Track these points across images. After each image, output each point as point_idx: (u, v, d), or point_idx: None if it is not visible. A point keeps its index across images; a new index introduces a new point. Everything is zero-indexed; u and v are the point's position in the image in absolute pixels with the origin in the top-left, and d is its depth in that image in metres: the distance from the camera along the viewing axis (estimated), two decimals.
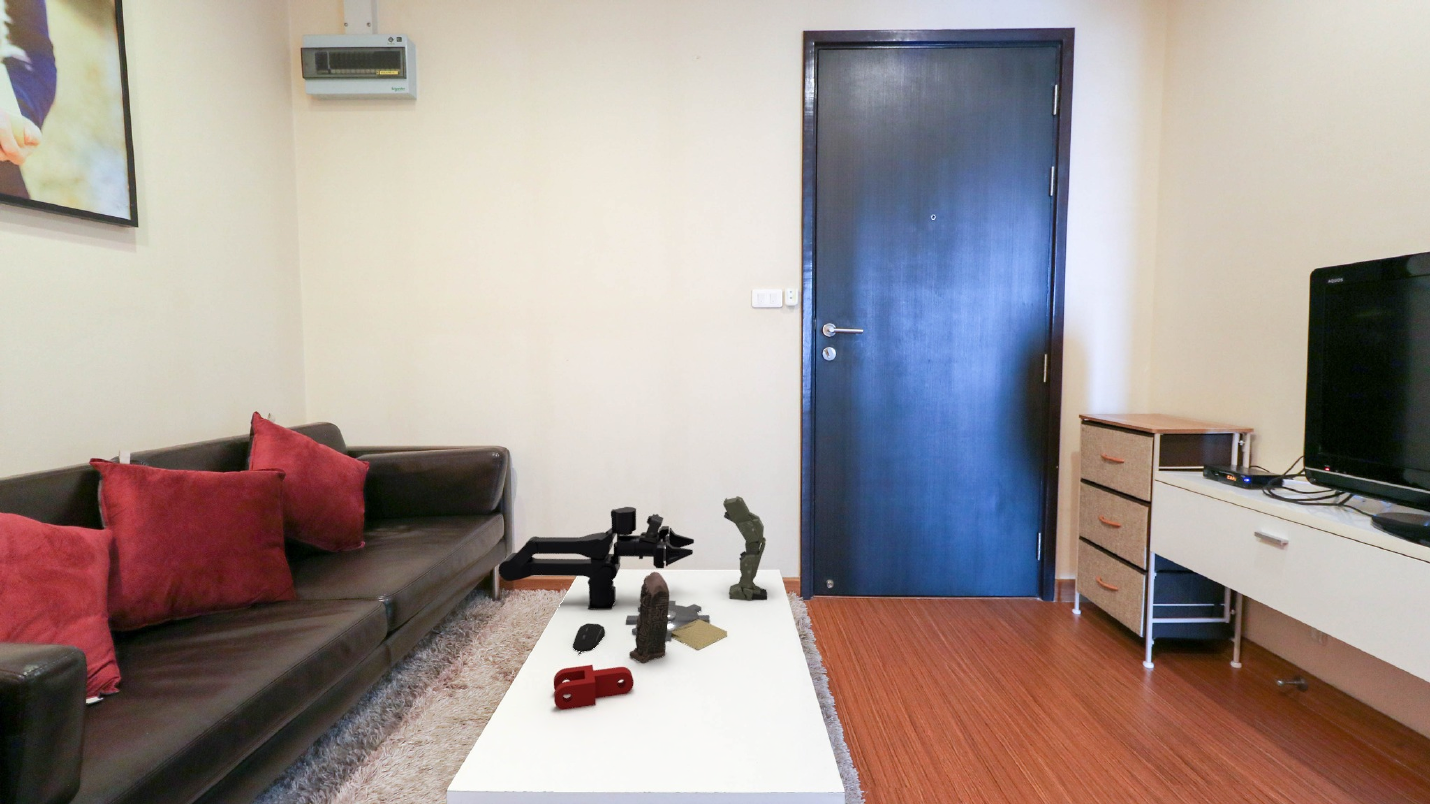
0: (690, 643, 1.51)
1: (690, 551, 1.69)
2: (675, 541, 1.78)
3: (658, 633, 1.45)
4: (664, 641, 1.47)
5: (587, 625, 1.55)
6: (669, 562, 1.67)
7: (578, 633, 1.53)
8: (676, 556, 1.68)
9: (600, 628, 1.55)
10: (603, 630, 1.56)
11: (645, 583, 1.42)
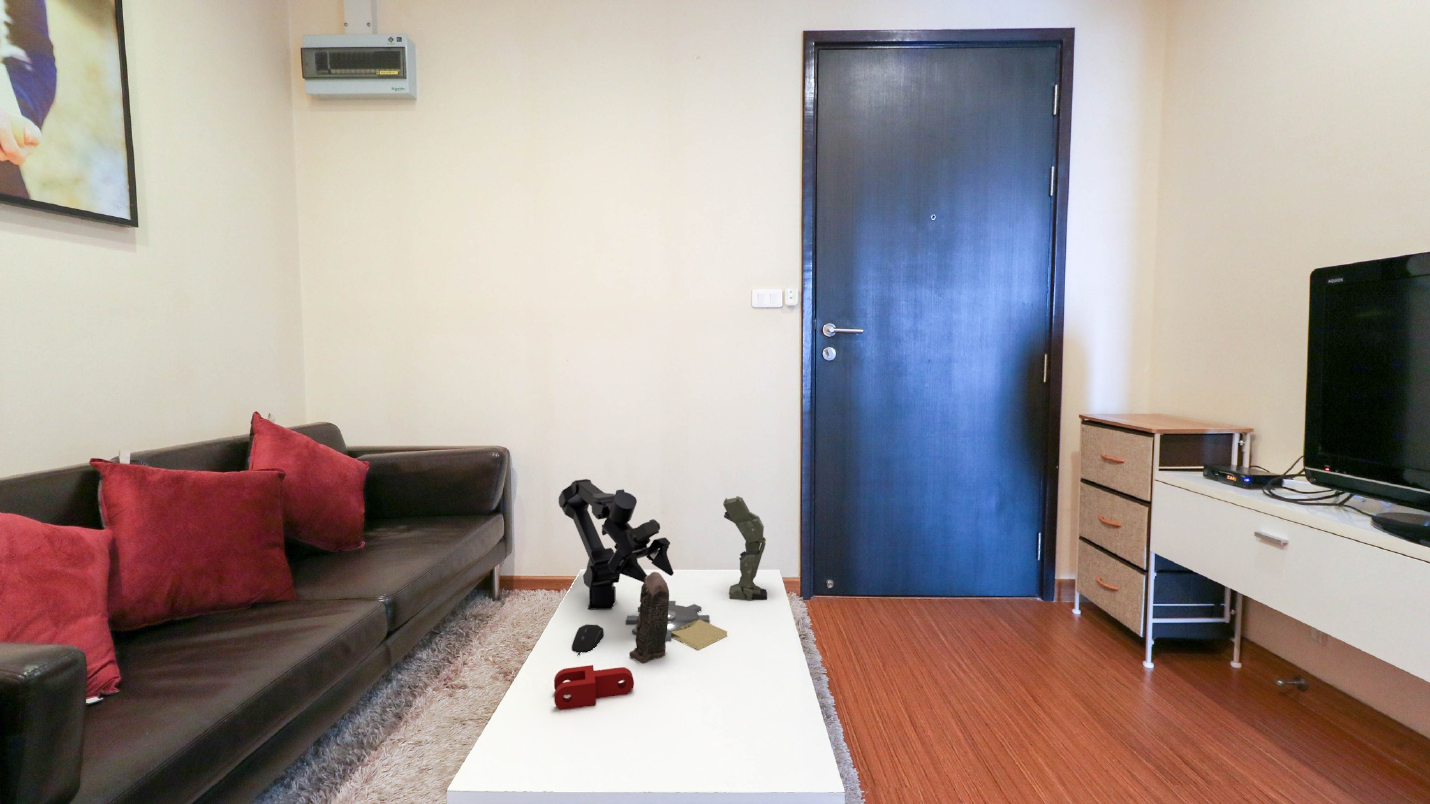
0: (690, 643, 1.51)
1: None
2: (659, 560, 1.62)
3: (658, 633, 1.45)
4: (664, 641, 1.47)
5: (586, 626, 1.54)
6: (624, 572, 1.53)
7: (577, 634, 1.52)
8: (633, 573, 1.53)
9: (599, 629, 1.55)
10: (602, 631, 1.56)
11: (645, 583, 1.42)
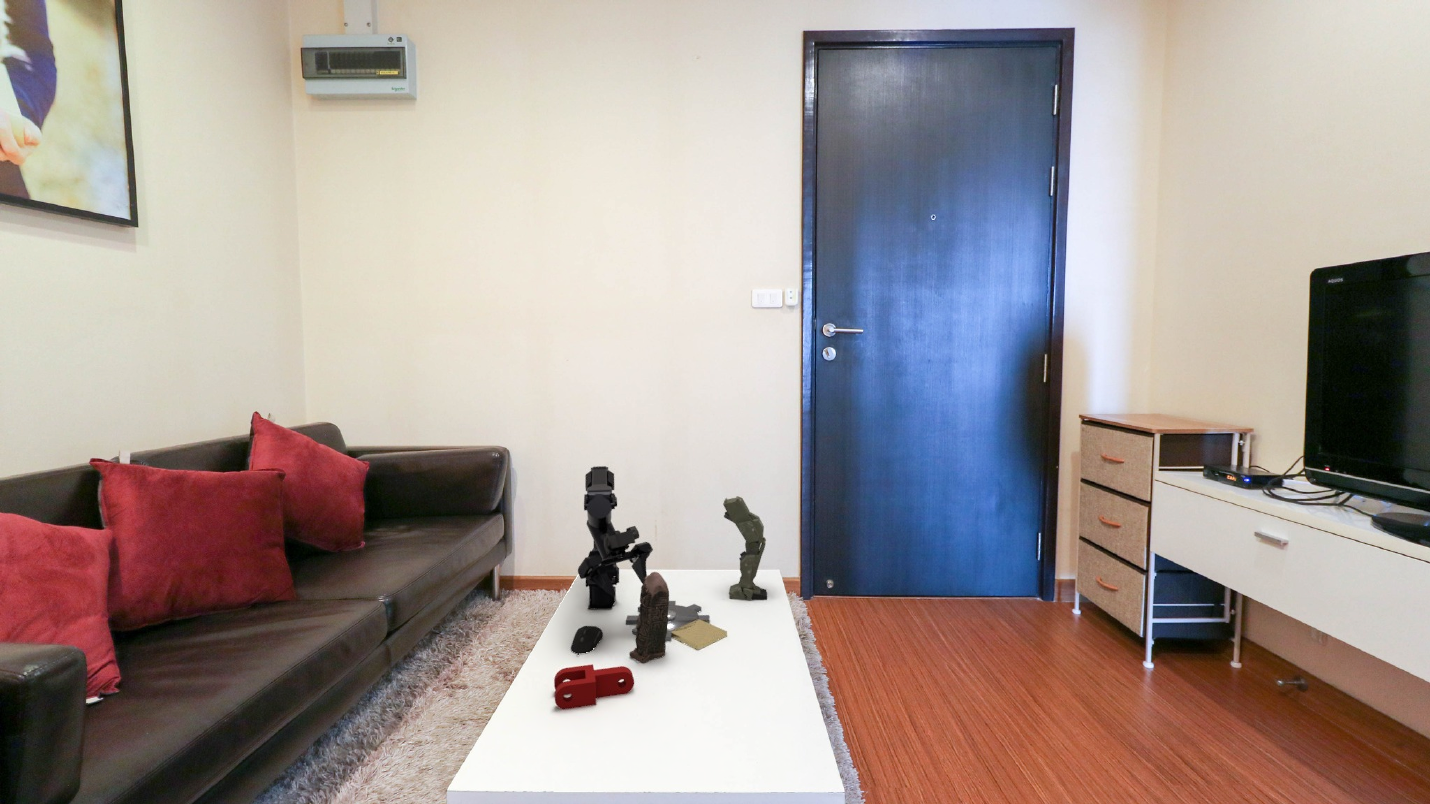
0: (690, 643, 1.51)
1: (612, 593, 1.47)
2: (637, 566, 1.56)
3: (658, 633, 1.45)
4: (664, 641, 1.47)
5: (585, 627, 1.54)
6: (593, 579, 1.50)
7: (576, 635, 1.52)
8: (601, 582, 1.49)
9: (598, 630, 1.54)
10: (601, 632, 1.55)
11: (645, 583, 1.42)
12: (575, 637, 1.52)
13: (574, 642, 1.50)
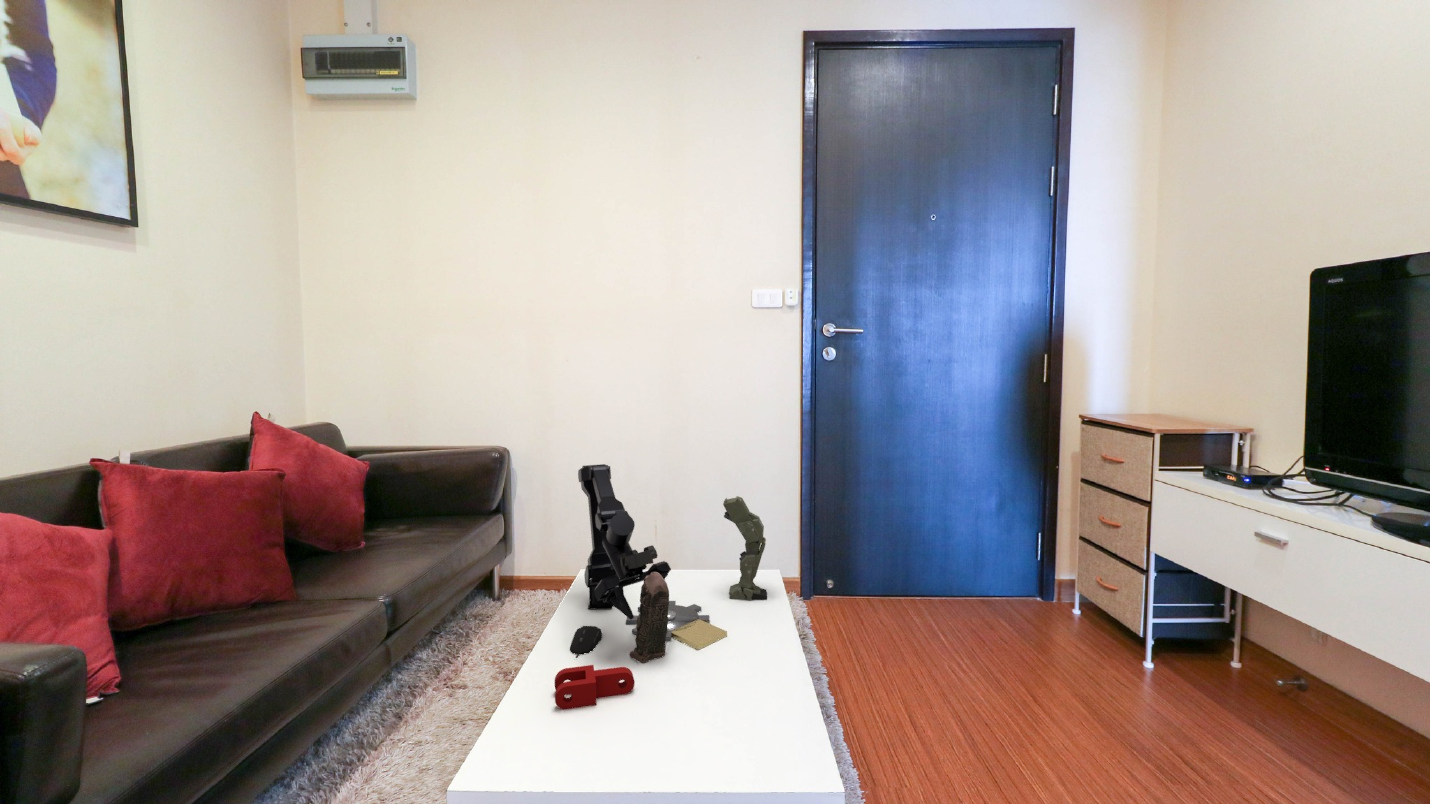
0: (690, 643, 1.51)
1: (630, 615, 1.42)
2: None
3: (658, 633, 1.45)
4: (664, 641, 1.47)
5: (584, 627, 1.53)
6: (609, 601, 1.45)
7: (575, 636, 1.52)
8: (618, 604, 1.44)
9: (597, 630, 1.54)
10: (600, 632, 1.55)
11: (645, 583, 1.42)
12: (574, 637, 1.51)
13: (573, 642, 1.50)
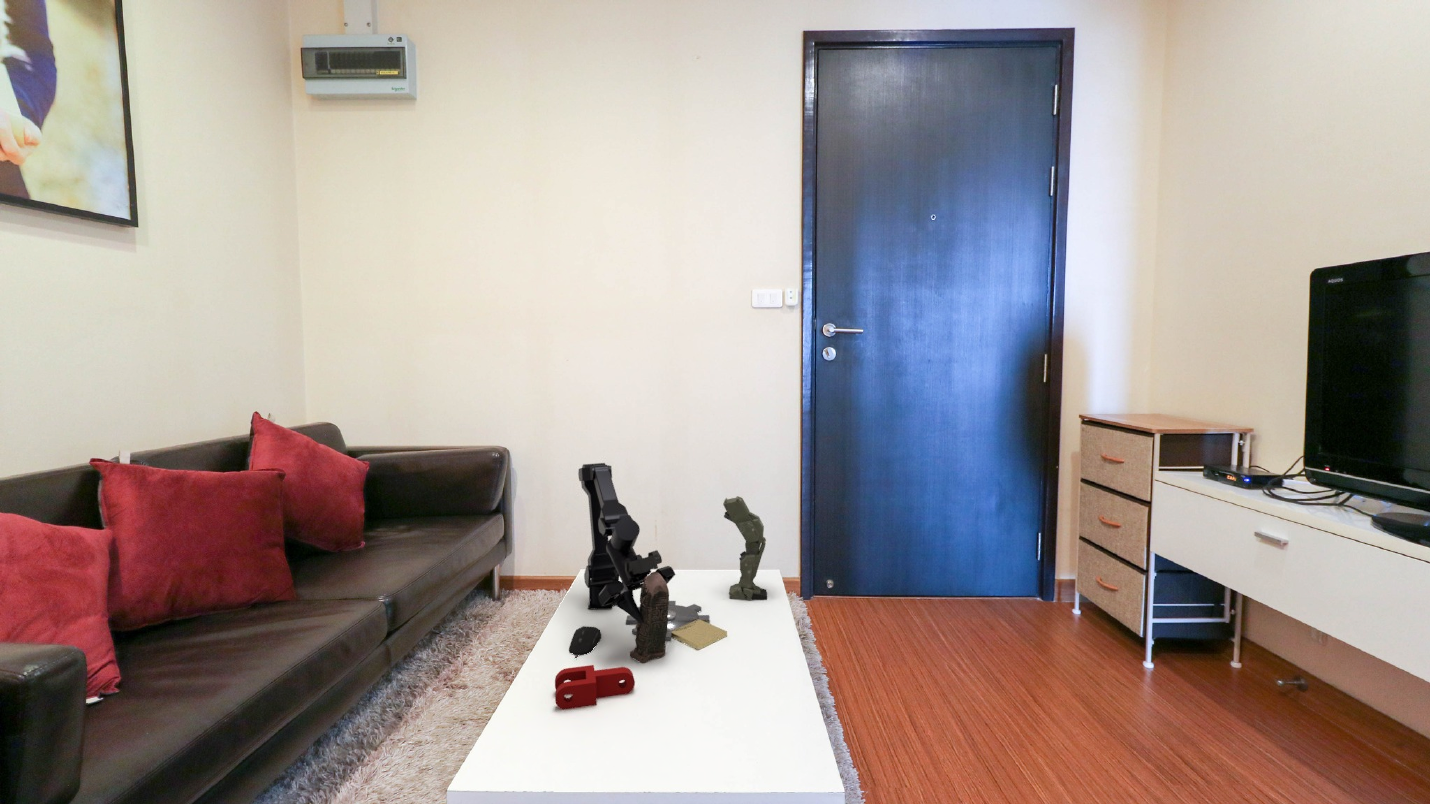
0: (690, 643, 1.51)
1: (640, 619, 1.42)
2: None
3: (658, 633, 1.45)
4: (664, 641, 1.47)
5: (583, 628, 1.53)
6: (619, 605, 1.45)
7: (574, 636, 1.51)
8: (628, 608, 1.44)
9: (596, 631, 1.54)
10: (599, 633, 1.55)
11: (645, 583, 1.42)
12: (573, 638, 1.51)
13: (572, 643, 1.49)
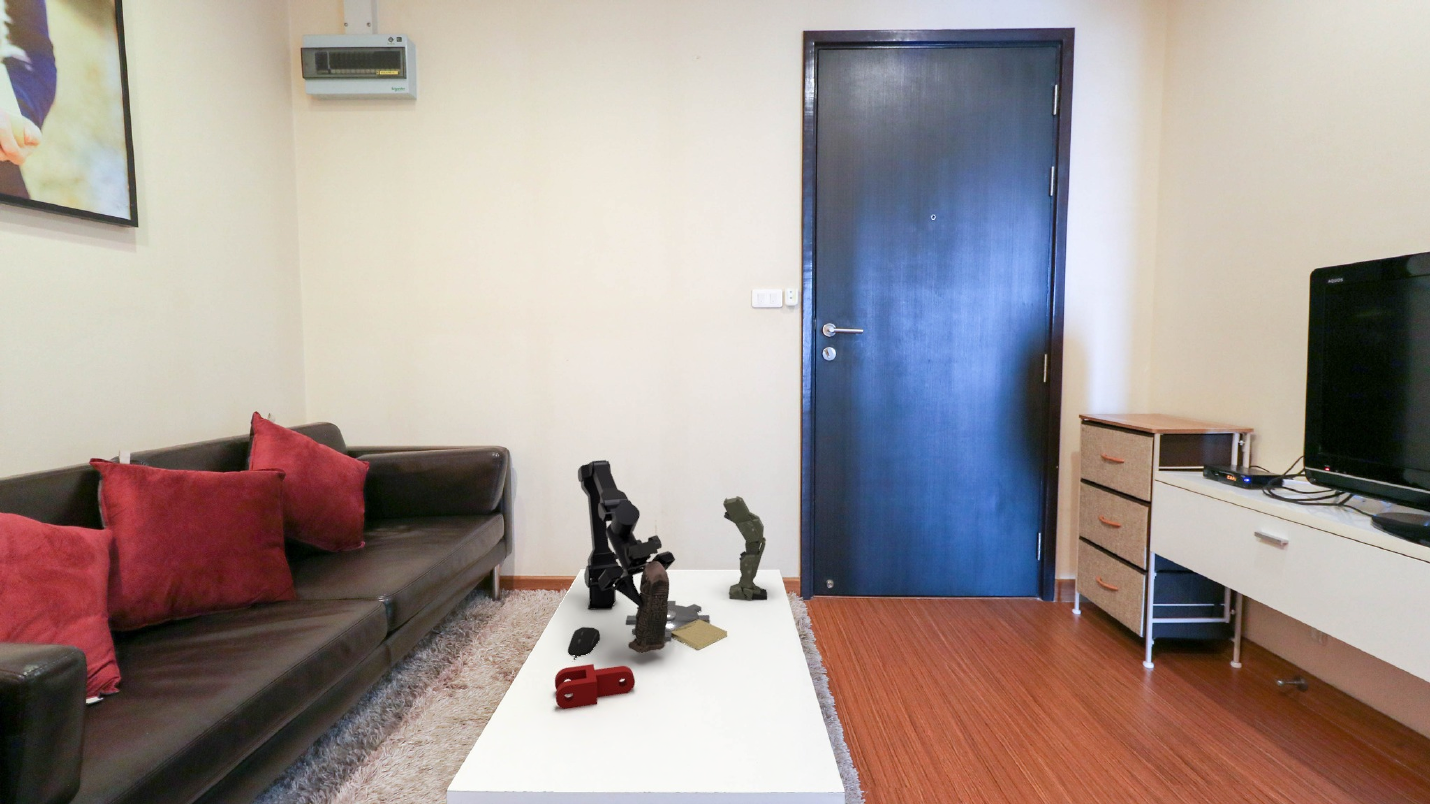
0: (690, 643, 1.51)
1: (640, 604, 1.42)
2: None
3: (657, 623, 1.44)
4: (663, 633, 1.46)
5: (582, 629, 1.53)
6: (619, 589, 1.45)
7: (573, 637, 1.51)
8: (628, 593, 1.44)
9: (595, 632, 1.53)
10: (598, 634, 1.54)
11: (645, 571, 1.43)
12: (572, 639, 1.50)
13: (571, 644, 1.49)
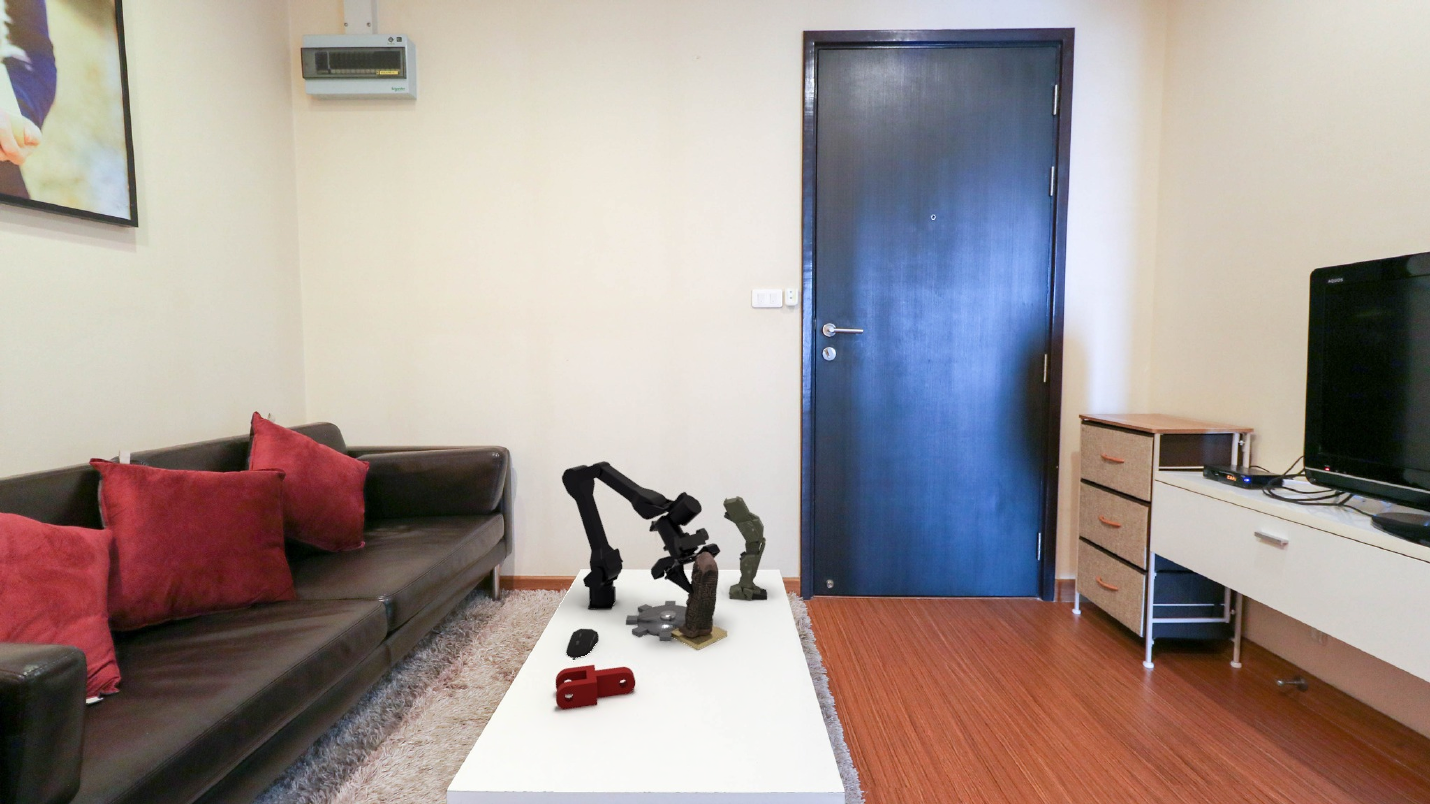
0: (690, 643, 1.51)
1: (691, 591, 1.52)
2: None
3: (706, 610, 1.54)
4: (711, 619, 1.56)
5: (580, 630, 1.52)
6: (670, 578, 1.55)
7: (571, 639, 1.50)
8: (679, 581, 1.54)
9: (594, 633, 1.52)
10: (597, 635, 1.54)
11: (697, 561, 1.52)
12: (570, 640, 1.50)
13: (570, 645, 1.48)
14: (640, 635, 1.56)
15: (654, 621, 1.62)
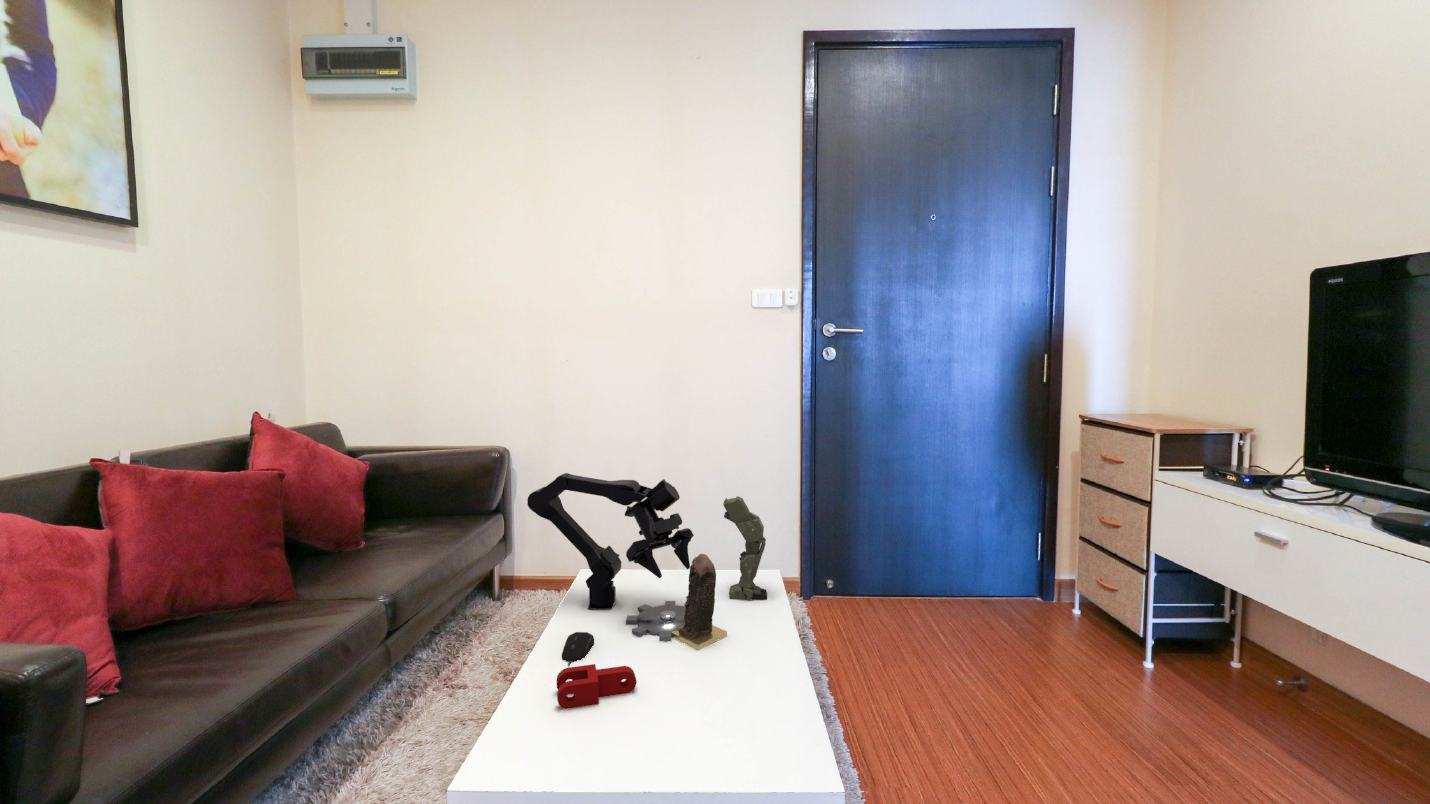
0: (690, 643, 1.51)
1: (659, 574, 1.59)
2: (680, 551, 1.68)
3: (705, 611, 1.54)
4: (711, 619, 1.55)
5: (576, 634, 1.50)
6: (640, 562, 1.62)
7: (567, 642, 1.48)
8: (648, 565, 1.61)
9: (589, 637, 1.51)
10: (592, 638, 1.52)
11: (694, 564, 1.51)
12: (566, 644, 1.48)
13: (565, 649, 1.46)
14: (640, 635, 1.56)
15: (654, 621, 1.62)
